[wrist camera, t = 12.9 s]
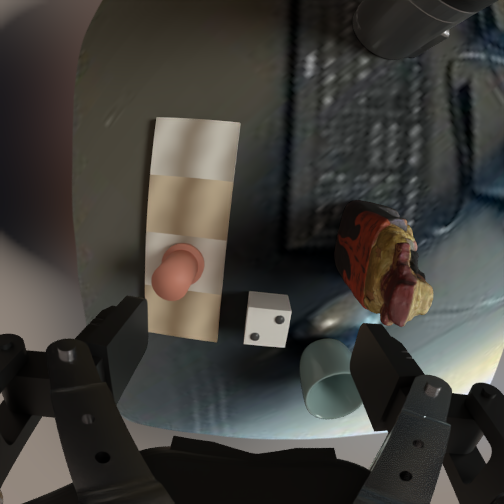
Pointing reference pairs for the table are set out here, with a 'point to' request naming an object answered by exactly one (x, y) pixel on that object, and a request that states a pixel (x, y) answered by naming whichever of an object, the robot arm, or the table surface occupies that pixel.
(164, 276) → the pawn
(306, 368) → the cup
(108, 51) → the table surface
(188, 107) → the table surface
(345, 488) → the robot arm
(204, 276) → the board
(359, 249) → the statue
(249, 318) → the die
